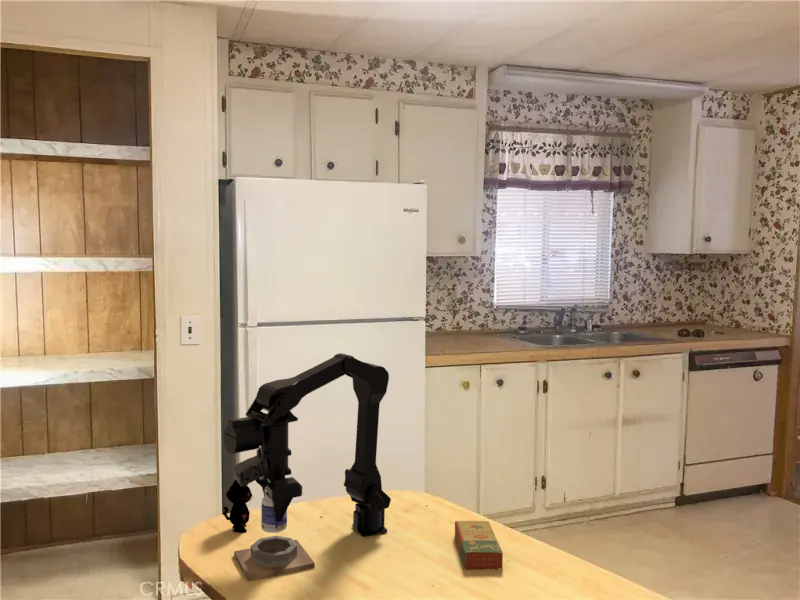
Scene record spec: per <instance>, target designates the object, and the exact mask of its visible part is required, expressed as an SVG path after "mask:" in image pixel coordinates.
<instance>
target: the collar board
mask: <svg viewBox="0 0 800 600" xmlns="http://www.w3.org/2000/svg"><path fill="white" fill-rule="evenodd" d="M233 556H234V558H235V560H236V562H237V564H238V565H239V568H240V569H241V571H242V573H243V575H244V576H245V578H246V580H247V582H252V581H256V580H257V581H258V580H261V579H266V578H271V577H276V576H280V575H287V574H289V573H295V572H299V571H305V570H310V569H313V568H316V567H315V565H316V564H315V561H314V560H313V559H312V557H311V556H310V554H309V553H308V552H307V551H306V549H305V548H304V547H303V545H301V543H300V542H299V540H297V539H293V538H291V537H286V536H282V535H272V536H266V537H261V538H260V537H259V539H257V540H256V541H255V542H253V543H252V544H251V545H250V547H249V548H244V549H240V550H239V549H238V550H234V552H233Z"/></svg>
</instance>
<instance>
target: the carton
mask: <svg viewBox="0 0 800 600" xmlns="http://www.w3.org/2000/svg"><path fill="white" fill-rule="evenodd" d="M454 539H455V542H456V546H457V549H458V552H459V553H458V554H459V556H460V560H461V564H462V567H463V570H471V571H472V570H476V571H477V570H478V571H479V570H480V571H481V570H502V569H503V562H504V561H503V558H504V557H503V550H502V548H501V546H500V543H499V542H498V540H497V537H496V534H495V532H494V530H493V528H492V526H491V523H490V521H488V520H455V521H454ZM499 568H500V569H499ZM501 568H502V569H501Z"/></svg>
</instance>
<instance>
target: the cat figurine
mask: <svg viewBox="0 0 800 600" xmlns="http://www.w3.org/2000/svg"><path fill="white" fill-rule="evenodd" d="M225 495H226V497H227V499H228V501H229V502H231V504H232V506H231V509H230V510H229V507H227V506H223V510H224V511H223V514H222V515H223V516H224V518H225V519H226V520H227V521H230V523H231V524H232V532H233V533H237V534H246V533H247V529H246V527H247V523H248V522H249V521H250V510H249V508H248V506H250V505H251V503H249V502H251V501H252V499H253V497H254V496H253V494H252V491H251V489H250V487H249V486H248V485H246V486H243V487H242V486H240V484H239V483H238V482H237V480H236V478H235V480H234V481H233V482H232V484H231V485H230V487H229V488H228V489H227V491H226V493H225ZM247 503H249V504H247ZM229 511H230V512H229ZM228 513H229V515H228Z"/></svg>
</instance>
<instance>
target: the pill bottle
mask: <svg viewBox="0 0 800 600" xmlns="http://www.w3.org/2000/svg"><path fill="white" fill-rule="evenodd" d="M265 492H268V491H267V486H266V487H265ZM265 495H266V493H265ZM287 523H288V509H287V510H286V512H285V514H284V516H283V519H282V521H281V522H276V520H275V515H274V509H273V503H272V499H270V498H269V497H268V496H267V495H266V496H265V497H264V496H263V498H262V499H261V524H260V525H261V530H262V531H264V532H265V533H270V534H274V533H280V532H283V531H285V530H286V528H287V526H288V525H287Z"/></svg>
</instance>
